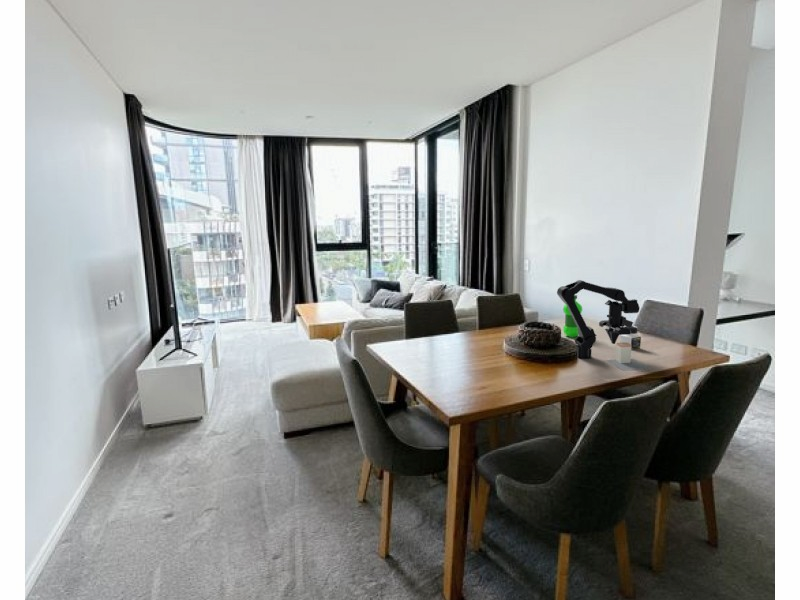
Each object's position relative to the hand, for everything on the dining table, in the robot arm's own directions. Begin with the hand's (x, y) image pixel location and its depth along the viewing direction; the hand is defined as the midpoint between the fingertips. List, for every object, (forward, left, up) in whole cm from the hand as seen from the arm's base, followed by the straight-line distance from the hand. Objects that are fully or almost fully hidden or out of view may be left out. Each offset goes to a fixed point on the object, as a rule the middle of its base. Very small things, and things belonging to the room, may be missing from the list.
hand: (613, 343), depth 207 cm
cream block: (0, -9, -6) cm, 11 cm away
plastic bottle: (-2, +41, -7) cm, 42 cm away
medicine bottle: (+17, +13, -7) cm, 23 cm away
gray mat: (0, -13, -7) cm, 15 cm away
